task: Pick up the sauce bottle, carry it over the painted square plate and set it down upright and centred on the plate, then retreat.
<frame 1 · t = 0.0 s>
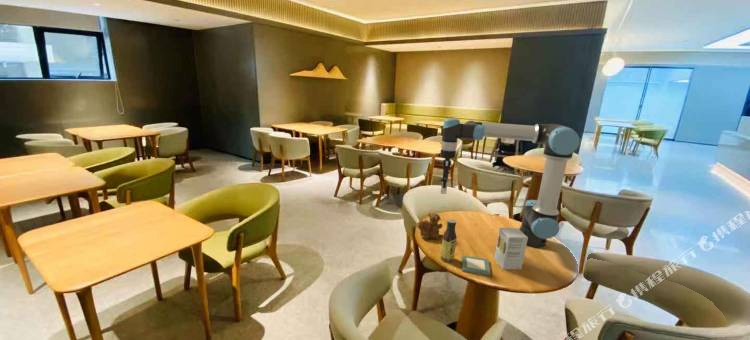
hand: (444, 189, 161), 28 cm above the table, fingers open, 13 cm apart
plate: (475, 266, 143), on the table
sauce bottle: (446, 259, 148), on the table
supplement box: (507, 264, 146), on the table
stuffed squirrel: (429, 237, 169), on the table
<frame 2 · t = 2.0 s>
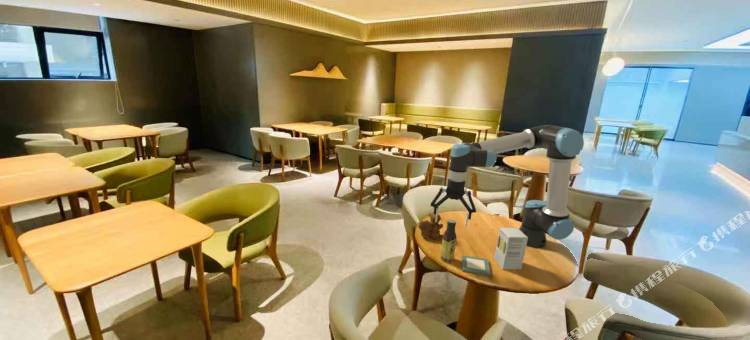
hand: (450, 223, 143), 19 cm above the table, fingers open, 13 cm apart
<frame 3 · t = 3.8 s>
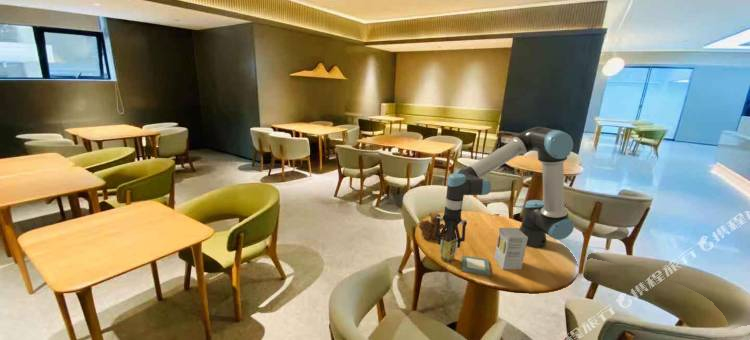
hand: (447, 251, 147), 4 cm above the table, fingers closed on sauce bottle, 6 cm apart
sauce bottle: (446, 259, 148), on the table, touching gripper
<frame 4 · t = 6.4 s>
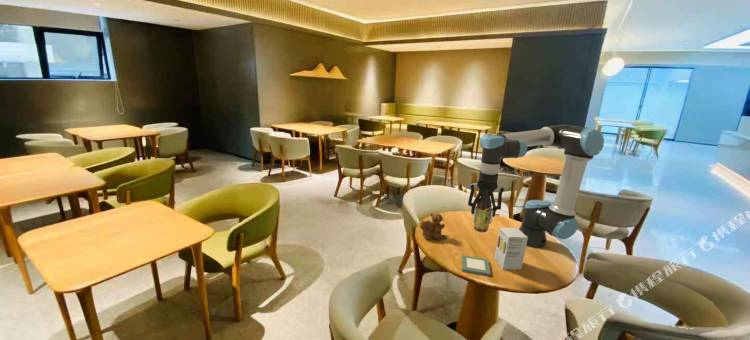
hand: (481, 221, 137), 23 cm above the table, fingers closed on sauce bottle, 6 cm apart
sauce bottle: (480, 230, 138), point 19 cm above the table, touching gripper
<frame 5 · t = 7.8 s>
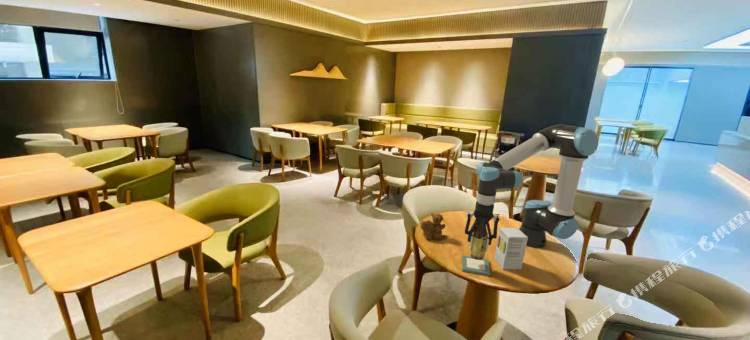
hand: (478, 249, 141), 9 cm above the table, fingers closed on sauce bottle, 6 cm apart
sauce bottle: (476, 257, 142), point 5 cm above the table, touching gripper
when the fingers open (6 cm above the table, at t = 8.8 s): sauce bottle stays where it is, resting on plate.
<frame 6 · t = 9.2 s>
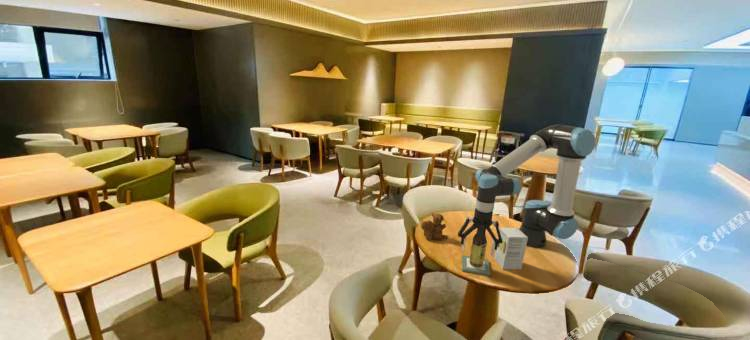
hand: (477, 252, 141), 7 cm above the table, fingers open, 12 cm apart
sauce bottle: (475, 264, 143), point 1 cm above the table, touching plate
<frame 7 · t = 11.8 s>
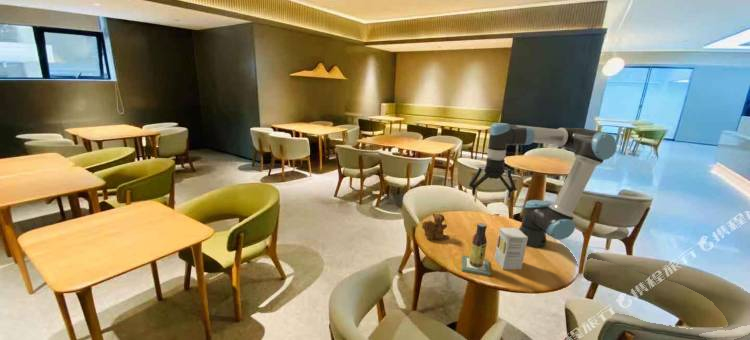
hand: (490, 202, 143), 29 cm above the table, fingers open, 13 cm apart
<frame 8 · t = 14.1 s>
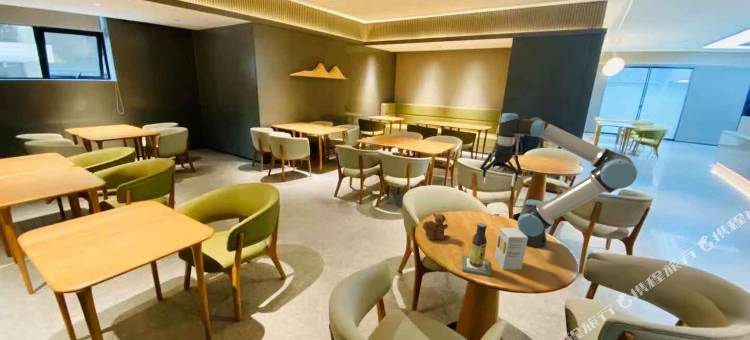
hand: (498, 184, 160), 32 cm above the table, fingers open, 13 cm apart
at the end: sauce bottle inside the target area on the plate (0.1 cm from its centre), point 1.1 cm above the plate's base; sauce bottle tilted 0°; the gripper is holding nothing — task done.
